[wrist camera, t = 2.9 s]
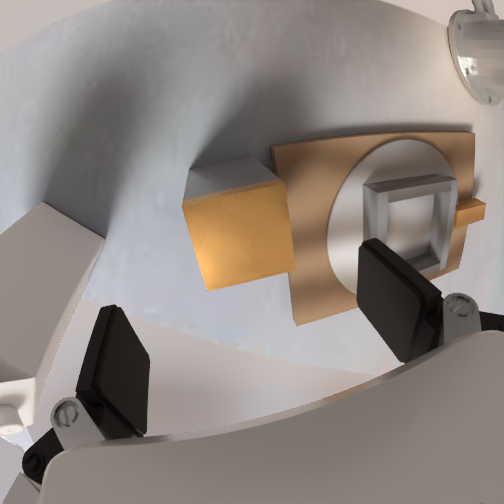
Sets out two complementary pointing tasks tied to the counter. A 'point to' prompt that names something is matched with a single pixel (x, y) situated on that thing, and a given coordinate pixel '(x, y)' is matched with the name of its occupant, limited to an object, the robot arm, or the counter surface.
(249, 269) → the grey orange block
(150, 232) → the counter surface
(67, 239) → the milk carton
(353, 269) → the rosette board
